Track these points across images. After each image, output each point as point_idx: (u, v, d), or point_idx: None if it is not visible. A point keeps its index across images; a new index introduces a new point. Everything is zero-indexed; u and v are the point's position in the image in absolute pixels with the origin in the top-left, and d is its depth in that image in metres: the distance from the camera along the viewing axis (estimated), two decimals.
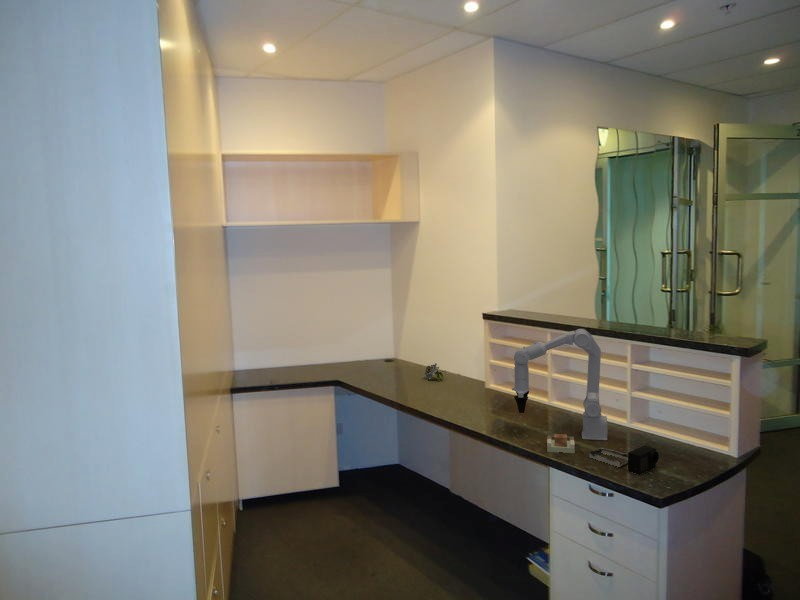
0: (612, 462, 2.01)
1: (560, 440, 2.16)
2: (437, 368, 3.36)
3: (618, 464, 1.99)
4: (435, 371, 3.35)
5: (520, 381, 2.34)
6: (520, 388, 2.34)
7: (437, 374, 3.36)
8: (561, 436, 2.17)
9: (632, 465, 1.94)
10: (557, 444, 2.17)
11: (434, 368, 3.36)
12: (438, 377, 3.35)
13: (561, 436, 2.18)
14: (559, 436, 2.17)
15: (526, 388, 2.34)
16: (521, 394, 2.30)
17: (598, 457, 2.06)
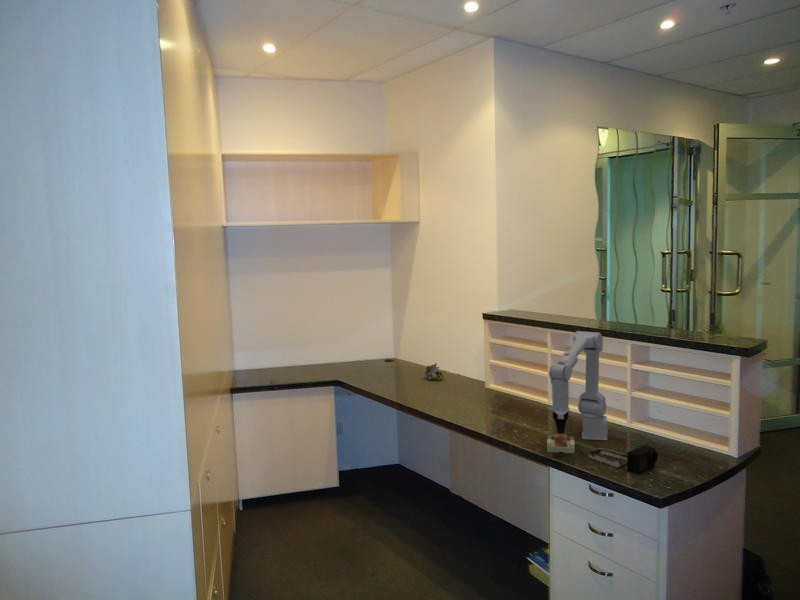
0: (611, 462, 2.01)
1: (560, 440, 2.16)
2: (437, 368, 3.36)
3: (617, 464, 1.99)
4: (435, 371, 3.35)
5: (559, 400, 2.06)
6: (559, 408, 2.07)
7: (437, 374, 3.36)
8: (561, 436, 2.17)
9: (631, 465, 1.95)
10: (557, 444, 2.17)
11: (434, 368, 3.36)
12: (438, 377, 3.35)
13: (561, 436, 2.18)
14: (559, 436, 2.17)
15: (566, 408, 2.07)
16: (561, 415, 2.02)
17: (598, 457, 2.06)
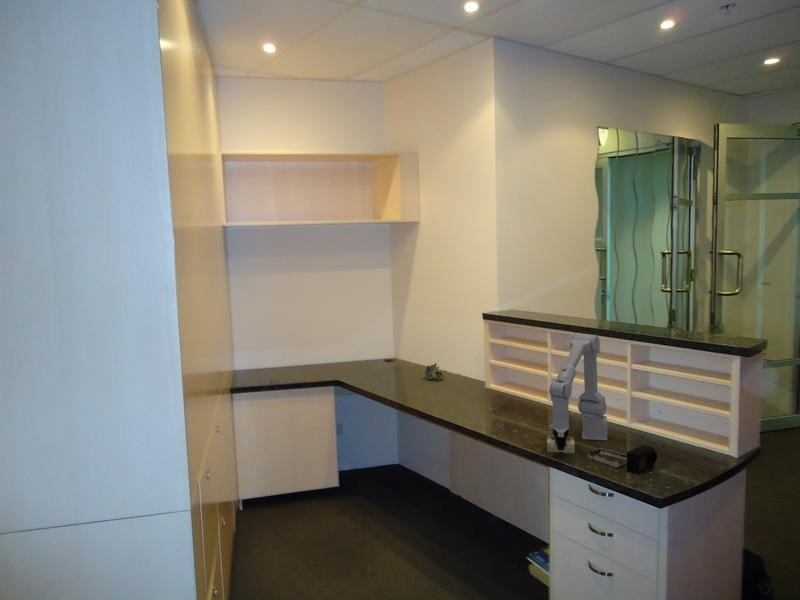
0: (611, 463, 2.01)
1: None
2: (437, 368, 3.36)
3: (617, 464, 1.99)
4: (435, 371, 3.35)
5: (559, 418, 2.07)
6: (559, 426, 2.07)
7: (437, 374, 3.36)
8: None
9: (631, 465, 1.95)
10: None
11: (434, 368, 3.36)
12: (438, 377, 3.35)
13: None
14: None
15: (566, 425, 2.08)
16: (561, 433, 2.03)
17: (597, 458, 2.06)
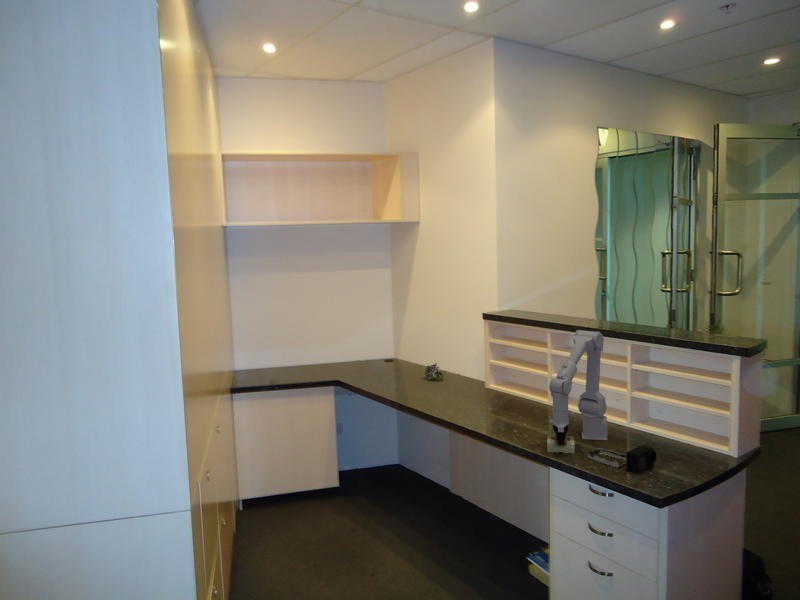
0: (611, 463, 2.01)
1: None
2: (437, 368, 3.36)
3: (617, 465, 1.99)
4: (435, 371, 3.35)
5: (559, 413, 2.12)
6: (559, 421, 2.13)
7: (437, 374, 3.36)
8: None
9: (630, 465, 1.95)
10: None
11: (434, 368, 3.36)
12: (438, 377, 3.35)
13: None
14: None
15: (566, 421, 2.13)
16: (561, 428, 2.08)
17: (597, 458, 2.05)
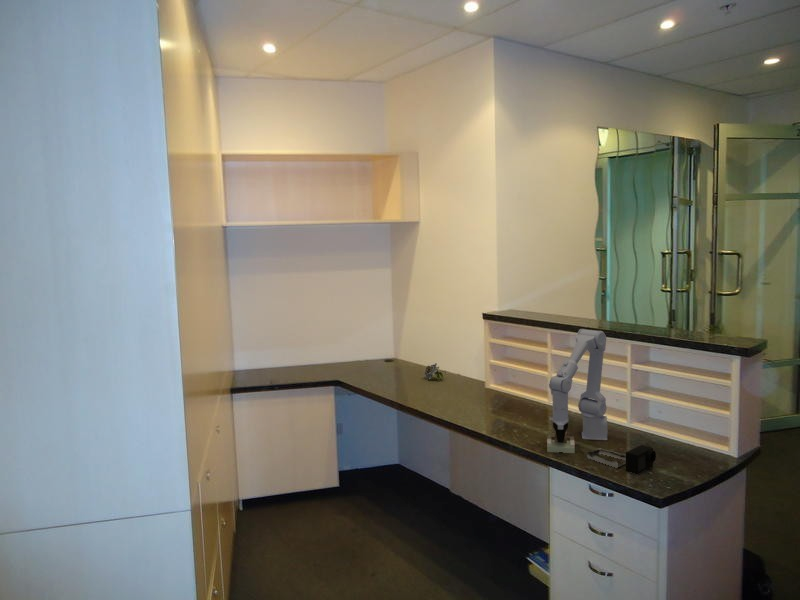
0: (610, 463, 2.01)
1: None
2: (437, 368, 3.36)
3: (616, 465, 1.99)
4: (435, 371, 3.35)
5: (559, 411, 2.15)
6: (559, 419, 2.15)
7: (437, 374, 3.36)
8: None
9: (630, 465, 1.95)
10: None
11: (434, 368, 3.36)
12: (438, 377, 3.35)
13: None
14: None
15: (565, 419, 2.15)
16: (561, 426, 2.11)
17: (596, 458, 2.05)
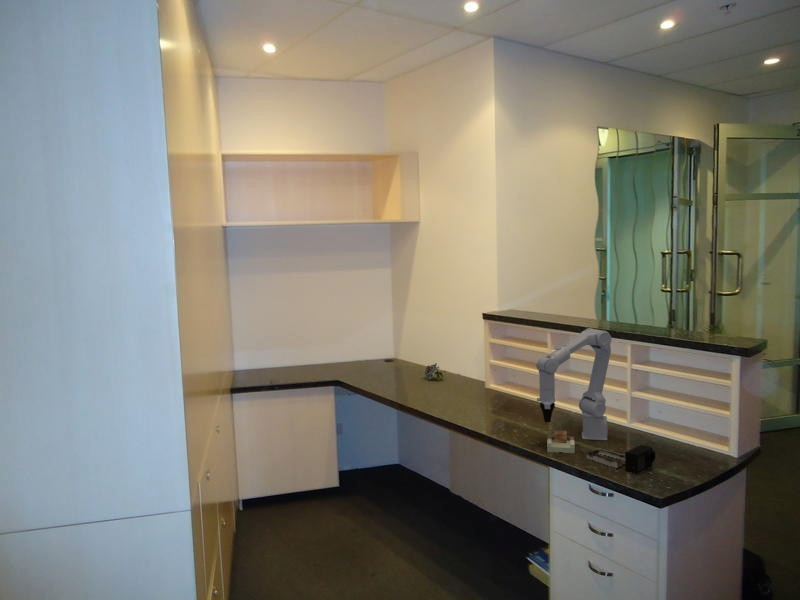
0: (610, 463, 2.01)
1: (560, 437, 2.20)
2: (437, 368, 3.36)
3: (616, 465, 1.99)
4: (435, 371, 3.35)
5: (546, 391, 2.19)
6: (546, 399, 2.20)
7: (437, 374, 3.36)
8: (561, 433, 2.21)
9: (629, 464, 1.95)
10: (557, 440, 2.20)
11: (434, 368, 3.36)
12: (438, 377, 3.35)
13: (561, 432, 2.22)
14: (558, 433, 2.21)
15: (552, 399, 2.20)
16: (548, 405, 2.15)
17: (596, 458, 2.05)
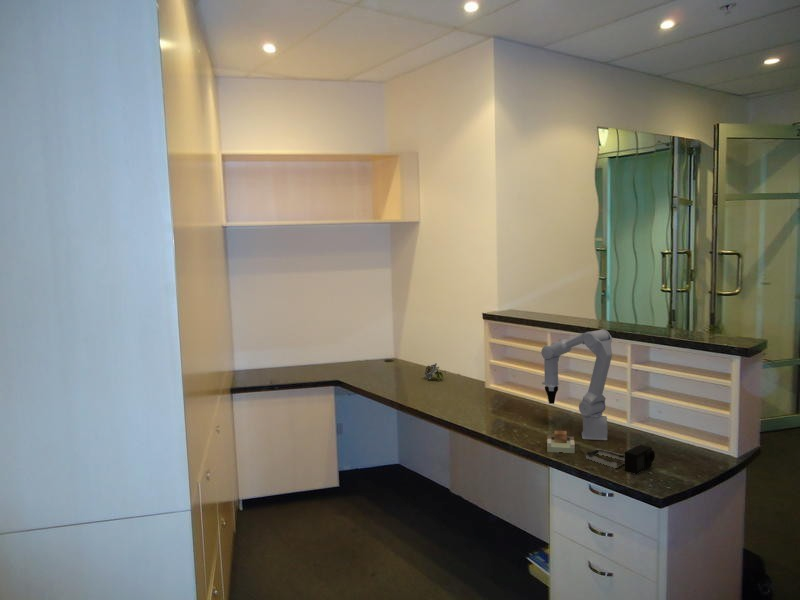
0: (609, 463, 2.00)
1: (560, 437, 2.20)
2: (437, 368, 3.36)
3: (615, 465, 1.99)
4: (435, 371, 3.35)
5: (550, 375, 2.44)
6: (550, 382, 2.45)
7: (437, 374, 3.36)
8: (561, 433, 2.21)
9: (629, 464, 1.95)
10: (557, 440, 2.20)
11: (434, 368, 3.36)
12: (438, 377, 3.35)
13: (561, 432, 2.22)
14: (558, 433, 2.21)
15: (556, 382, 2.45)
16: (552, 388, 2.40)
17: (595, 458, 2.05)
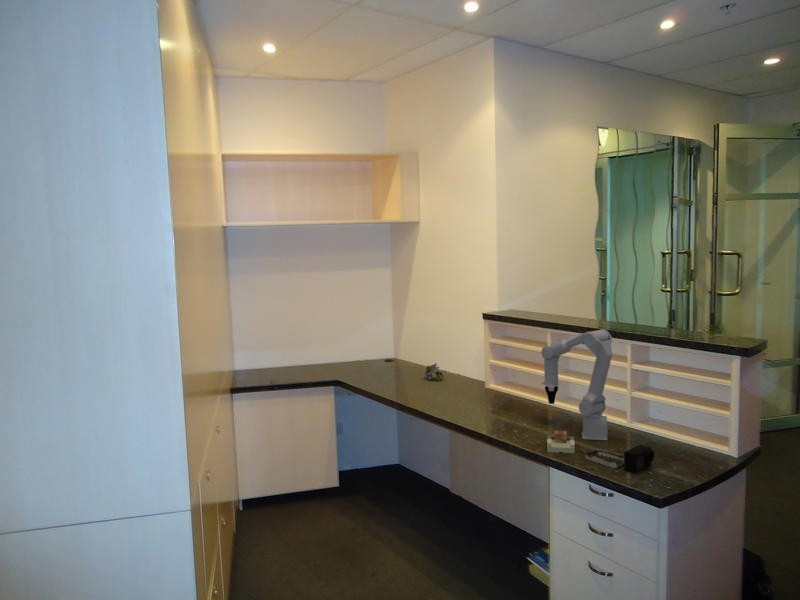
0: (609, 463, 2.00)
1: (560, 437, 2.20)
2: (437, 368, 3.36)
3: (615, 465, 1.98)
4: (435, 371, 3.35)
5: (550, 375, 2.44)
6: (550, 382, 2.45)
7: (437, 374, 3.36)
8: (561, 433, 2.21)
9: (628, 464, 1.95)
10: (557, 440, 2.20)
11: (434, 368, 3.36)
12: (438, 377, 3.35)
13: (561, 432, 2.22)
14: (558, 433, 2.21)
15: (556, 382, 2.45)
16: (552, 388, 2.40)
17: (595, 458, 2.05)
